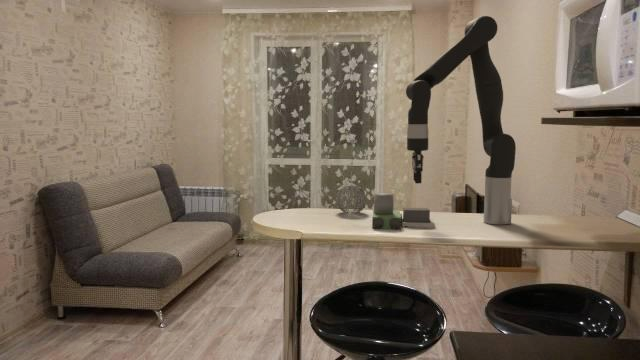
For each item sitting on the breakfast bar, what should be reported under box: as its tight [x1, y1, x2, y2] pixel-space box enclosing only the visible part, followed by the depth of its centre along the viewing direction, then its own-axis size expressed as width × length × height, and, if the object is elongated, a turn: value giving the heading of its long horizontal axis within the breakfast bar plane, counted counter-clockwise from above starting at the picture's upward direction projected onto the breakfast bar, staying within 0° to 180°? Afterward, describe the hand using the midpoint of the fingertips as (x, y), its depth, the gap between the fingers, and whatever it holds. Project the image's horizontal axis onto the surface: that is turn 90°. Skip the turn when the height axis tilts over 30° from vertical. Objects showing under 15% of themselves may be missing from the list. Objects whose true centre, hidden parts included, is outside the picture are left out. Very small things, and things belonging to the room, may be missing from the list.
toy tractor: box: [371, 192, 436, 230], centre depth 194 cm, size 22×18×11 cm
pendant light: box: [335, 139, 367, 215], centre depth 217 cm, size 12×12×30 cm
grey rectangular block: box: [402, 207, 431, 223], centre depth 194 cm, size 9×5×6 cm, turn 86°
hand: (417, 182), depth 192 cm, fingers open, 8 cm apart
